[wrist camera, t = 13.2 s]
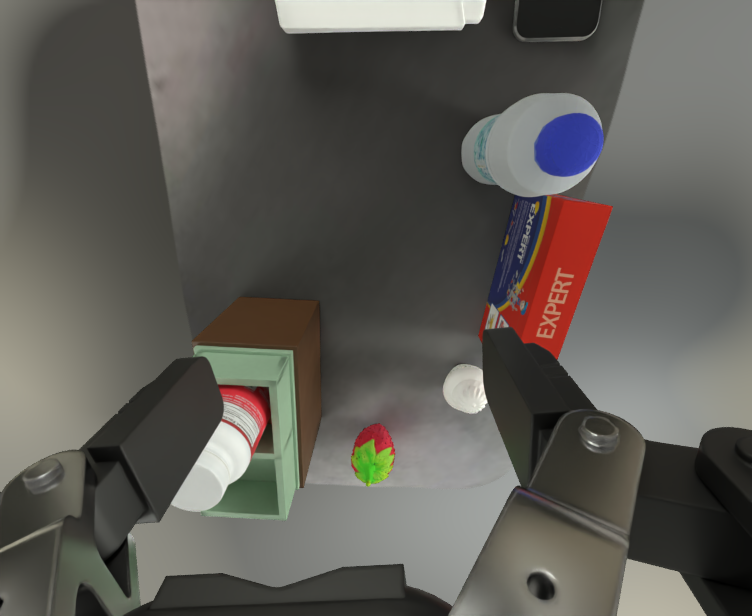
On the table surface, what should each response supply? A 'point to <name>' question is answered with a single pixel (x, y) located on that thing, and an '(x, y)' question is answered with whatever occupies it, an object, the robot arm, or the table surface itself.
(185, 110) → the table surface
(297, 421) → the rack
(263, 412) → the pill bottle
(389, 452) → the strawberry
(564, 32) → the smartphone
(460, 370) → the muffin
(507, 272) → the red cardboard box
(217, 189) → the table surface
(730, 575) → the robot arm
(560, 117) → the bottle
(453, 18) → the squeeze bottle
